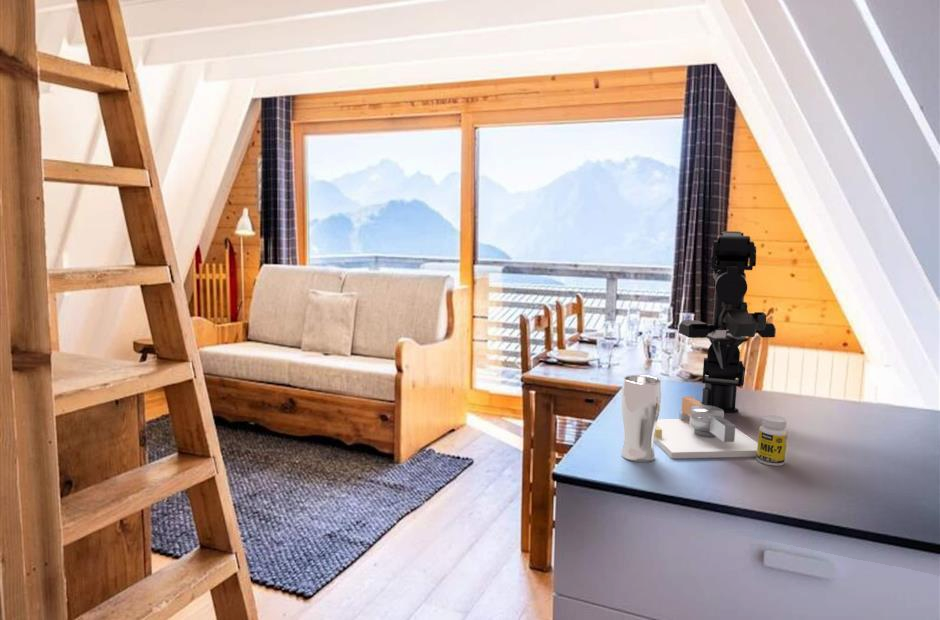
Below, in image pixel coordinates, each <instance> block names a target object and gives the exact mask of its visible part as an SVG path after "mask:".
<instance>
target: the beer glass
mask: <svg viewBox="0 0 940 620" xmlns="http://www.w3.org/2000/svg"><path fill="white" fill-rule="evenodd" d="M661 382H662V381H661V379H659V378H658V377H654V376H651V375H644V374H643V375H642V374H634V375H633V374H632V375H626V376H624V378H623V386H622V387H623V388H622V392H621V393H622V394H621V412H622V413H621V414H622V421H623V429H624V439H623V440H624V441H623V444H622V449H621V456H622V458H624V459H625V460H627V461H630V462H636V463H649V462H652V461H654V460H655V448H654V441H653V440H654V433H655V429H656V425H657V421H658V419H659V416H660V411H661V402H662V401H661V398H662V397H661V396H662V393H661Z"/></svg>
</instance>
